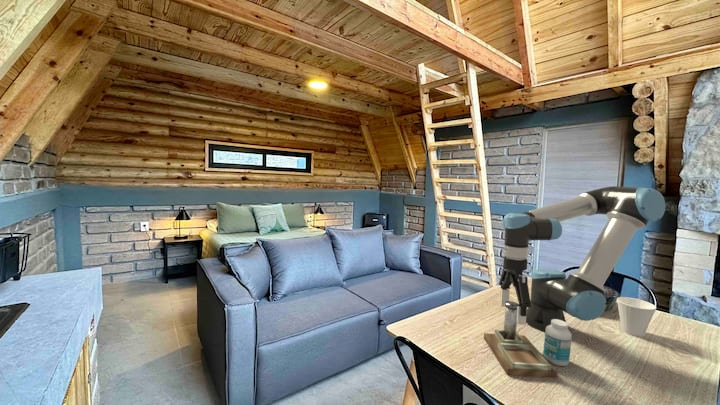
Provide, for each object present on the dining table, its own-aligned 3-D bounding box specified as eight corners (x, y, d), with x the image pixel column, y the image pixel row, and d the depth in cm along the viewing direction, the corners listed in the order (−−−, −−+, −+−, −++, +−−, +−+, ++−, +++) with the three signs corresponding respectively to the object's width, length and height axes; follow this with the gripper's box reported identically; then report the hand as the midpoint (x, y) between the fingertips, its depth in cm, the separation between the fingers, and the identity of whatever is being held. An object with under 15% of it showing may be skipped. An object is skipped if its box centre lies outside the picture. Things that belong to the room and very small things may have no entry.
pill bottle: (538, 353, 105) (541, 317, 104) (557, 353, 106) (561, 316, 104) (553, 367, 98) (557, 328, 96) (574, 367, 98) (578, 327, 97)
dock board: (524, 340, 113) (525, 330, 113) (556, 378, 92) (558, 365, 92) (483, 338, 114) (484, 328, 114) (506, 374, 93) (507, 362, 93)
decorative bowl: (632, 320, 136) (636, 299, 135) (571, 314, 136) (574, 293, 135) (590, 297, 161) (593, 279, 160) (539, 291, 162) (542, 274, 161)
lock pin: (512, 337, 112) (515, 301, 110) (518, 344, 107) (521, 307, 106) (500, 336, 112) (503, 300, 110) (505, 343, 107) (508, 306, 106)
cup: (652, 332, 122) (656, 303, 121) (653, 343, 113) (657, 312, 112) (614, 322, 130) (617, 294, 129) (612, 332, 121) (615, 302, 120)
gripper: (491, 248, 119) (489, 299, 121) (520, 268, 94) (517, 332, 96) (511, 248, 119) (508, 300, 121) (545, 268, 94) (541, 333, 96)
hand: (512, 314), depth 109 cm, fingers open, 13 cm apart
